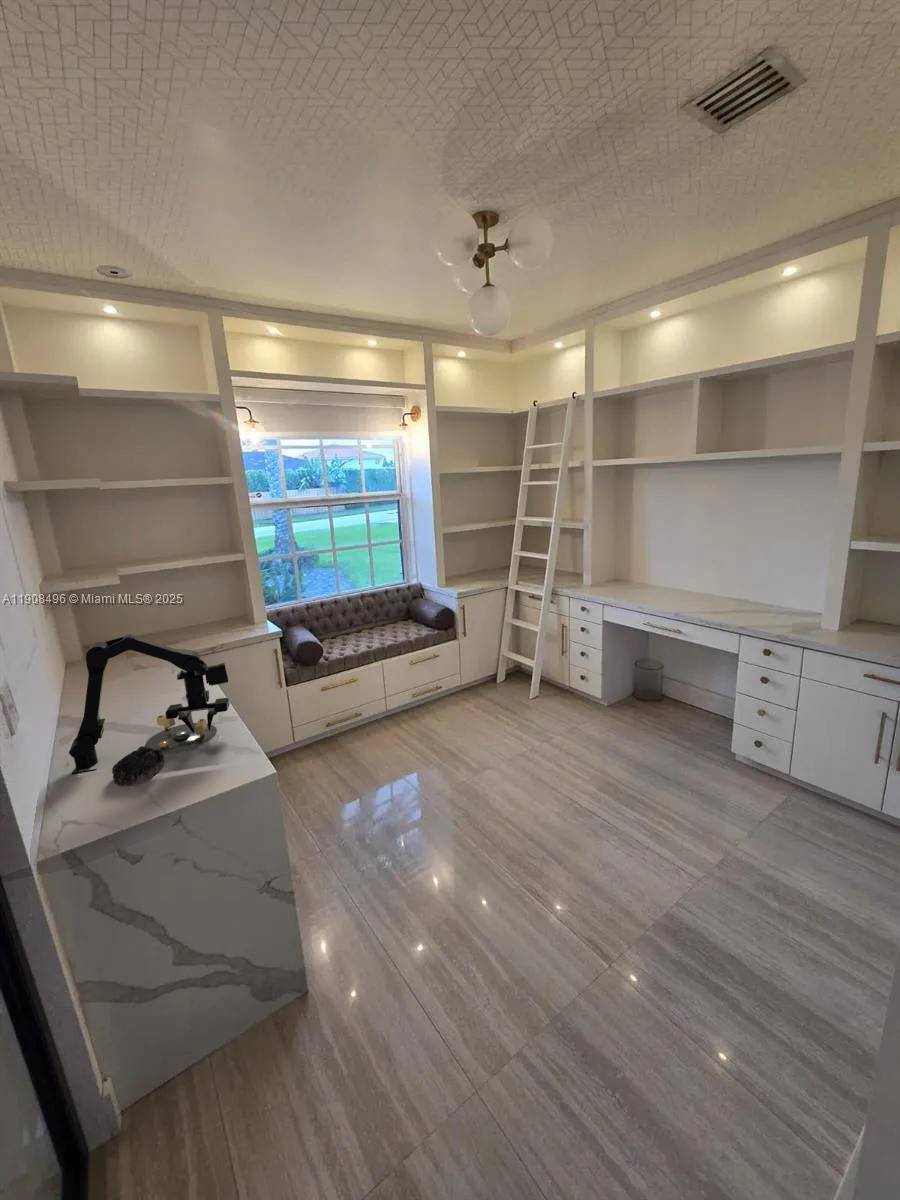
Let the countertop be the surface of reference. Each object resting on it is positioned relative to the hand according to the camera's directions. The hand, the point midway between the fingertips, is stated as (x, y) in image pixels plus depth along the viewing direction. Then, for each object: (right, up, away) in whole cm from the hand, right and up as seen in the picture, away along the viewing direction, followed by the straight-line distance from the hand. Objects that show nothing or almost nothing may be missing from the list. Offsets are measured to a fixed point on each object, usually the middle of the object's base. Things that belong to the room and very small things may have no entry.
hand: (201, 731), depth 171 cm
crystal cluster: (-9, -9, -19) cm, 23 cm away
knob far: (-15, -1, +6) cm, 16 cm away
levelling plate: (-7, -4, +1) cm, 8 cm away
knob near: (0, -2, +1) cm, 2 cm away
